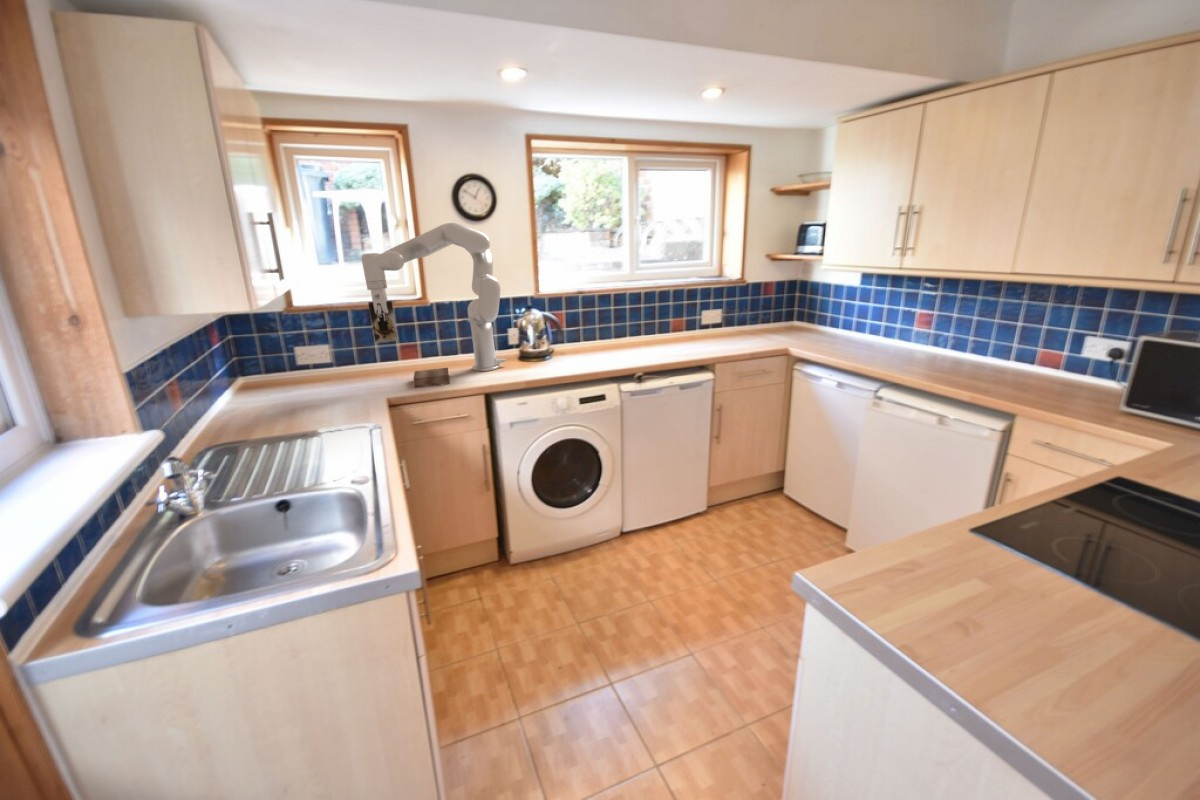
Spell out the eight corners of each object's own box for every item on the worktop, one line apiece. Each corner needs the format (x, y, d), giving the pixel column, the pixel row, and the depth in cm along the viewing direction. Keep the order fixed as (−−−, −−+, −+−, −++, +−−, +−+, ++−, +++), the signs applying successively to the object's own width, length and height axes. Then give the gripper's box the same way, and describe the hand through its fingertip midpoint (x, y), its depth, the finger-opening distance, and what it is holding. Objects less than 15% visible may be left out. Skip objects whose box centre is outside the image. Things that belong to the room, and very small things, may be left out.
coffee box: (375, 343, 215) (367, 303, 209) (375, 340, 220) (367, 301, 215) (398, 340, 218) (391, 301, 212) (398, 338, 223) (391, 299, 218)
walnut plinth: (449, 376, 235) (447, 367, 234) (449, 383, 223) (448, 374, 222) (416, 379, 231) (414, 371, 230) (415, 387, 219) (413, 378, 218)
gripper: (384, 286, 205) (393, 331, 210) (388, 282, 221) (396, 324, 226) (364, 288, 203) (373, 334, 209) (369, 284, 219) (377, 326, 224)
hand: (384, 328), depth 217 cm, fingers closed on coffee box, 6 cm apart
